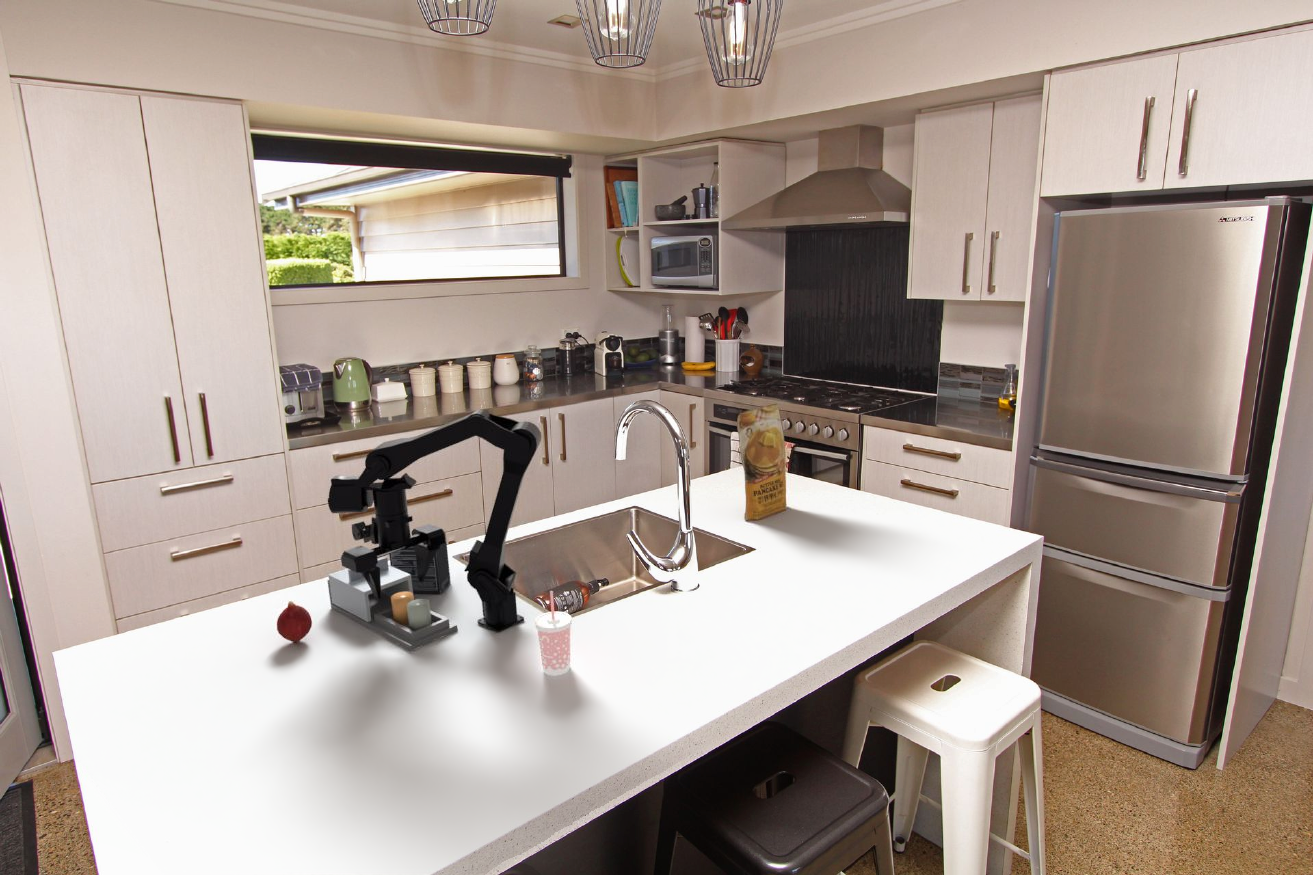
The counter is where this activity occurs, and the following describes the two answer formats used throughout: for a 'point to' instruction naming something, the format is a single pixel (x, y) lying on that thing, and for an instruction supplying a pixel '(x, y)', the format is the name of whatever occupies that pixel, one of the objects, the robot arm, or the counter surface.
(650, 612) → the counter surface
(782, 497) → the pancake mix bag
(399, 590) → the lid
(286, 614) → the onion
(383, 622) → the housing
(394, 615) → the orange rounded tapered piece
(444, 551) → the small box
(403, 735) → the counter surface
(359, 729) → the counter surface
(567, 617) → the beverage cup
